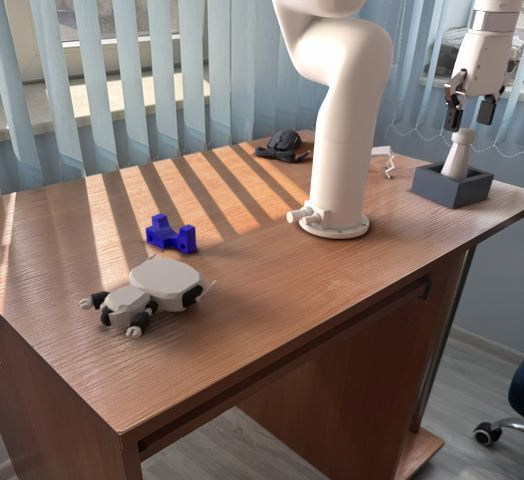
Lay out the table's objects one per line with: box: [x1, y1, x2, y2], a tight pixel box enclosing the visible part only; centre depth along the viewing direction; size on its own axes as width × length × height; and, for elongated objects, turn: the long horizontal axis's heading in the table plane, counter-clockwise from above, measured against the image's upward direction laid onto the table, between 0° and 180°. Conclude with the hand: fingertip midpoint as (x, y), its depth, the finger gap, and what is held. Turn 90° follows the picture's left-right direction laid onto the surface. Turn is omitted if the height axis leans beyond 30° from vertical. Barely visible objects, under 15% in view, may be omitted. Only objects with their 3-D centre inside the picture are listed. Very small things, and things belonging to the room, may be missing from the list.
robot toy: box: [78, 251, 218, 339], centre depth 69 cm, size 12×4×15 cm
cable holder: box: [144, 212, 197, 255], centre depth 84 cm, size 8×4×4 cm, turn 51°
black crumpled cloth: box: [253, 128, 312, 163], centre depth 127 cm, size 12×17×4 cm
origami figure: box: [371, 145, 396, 179], centre depth 117 cm, size 12×8×5 cm
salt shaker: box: [441, 127, 476, 180], centre depth 104 cm, size 6×6×13 cm
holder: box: [410, 160, 495, 210], centre depth 107 cm, size 11×11×5 cm
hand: (467, 127), depth 100 cm, fingers open, 9 cm apart
